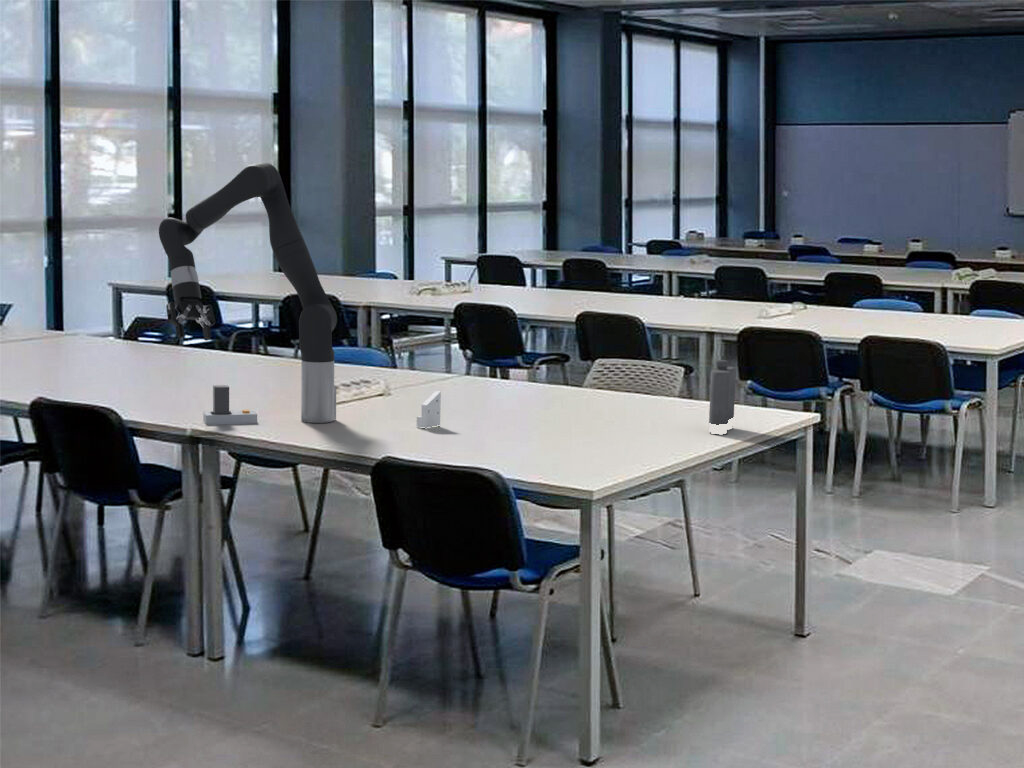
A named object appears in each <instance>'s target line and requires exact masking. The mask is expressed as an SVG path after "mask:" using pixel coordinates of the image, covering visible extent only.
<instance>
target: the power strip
mask: <svg viewBox="0 0 1024 768" xmlns="http://www.w3.org/2000/svg"><path fill="white" fill-rule="evenodd" d="M202 413H203V422H204V424H205V425H207V426H209V425H241V424H242V425H244V424H245V425H247V424H248V425H249V424H258V413H257V412H256V410H254V409H252V410H250V409H241V410H229V414H228V415H213V410H209V411H208V410H207V411H206V410H204V411H202Z"/></svg>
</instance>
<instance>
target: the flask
mask: <svg viewBox="0 0 1024 768" xmlns="http://www.w3.org/2000/svg"><path fill="white" fill-rule="evenodd" d="M736 373H737V369H736V367H733V366H730V364H729V361H728V360H724V359H723V360H722V359H718V360H717V361H715V368H713V369H711V371H710V387H709V388H710V389H709V390H710V391H709V392H710V394H709V412H708V413H709V414H708V416H709V417H708V418H709V419H708V424H709V423H711V424H716V425H719V424H727V423H728V420H729V419H731V418H733V417H735V397H736V396H735V395H736V376H737V374H736Z"/></svg>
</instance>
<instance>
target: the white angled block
mask: <svg viewBox="0 0 1024 768" xmlns="http://www.w3.org/2000/svg"><path fill="white" fill-rule="evenodd" d="M441 394H442V391H440V390H435V391H434V392H433V393H432V394H431V395H430V396H429V397H428V398H426V400H425V401H424V402H423V403H422V404H421V415H418V416H416V427H417V426H418V427H425V428H427V427H432V426H437V425H440V426H441V406H442V405H441V403H442V402H441V401H442V399H441V397H442V395H441Z"/></svg>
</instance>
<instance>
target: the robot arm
mask: <svg viewBox="0 0 1024 768" xmlns="http://www.w3.org/2000/svg"><path fill="white" fill-rule="evenodd" d="M284 186H285V185H284V183H283V180H282V177H281V174H280V172H279V171H278V169H277V167H276V166H274V165H273V164H271V163H270V162H259V163H258V162H257V163H252V164H249V165H247V166H245V167H244V168H243V169H242V170H241V171H240V172H238V174H236V176H234V177H233V178H232V179H231V181H229V182H228V183H226V184H225V185H224V186H223V187H221V188H220V189H219V190H217V191H216V192H214V193H213V194H211V195H210V196H208V197H206V198H205V199H203V200H201V201H199V203H196V204H195V205H193V206H192V207H191V208H189V209H188V210H187V211H186V213H185V220H181V219H178V218H175V217H166V218H164V219H163V220H162V221H161V222H160V224H159V225H158V226H159V227H158V235H159V236H158V237H159V240H160V244H161V245H162V247H163V248H162V249H163V250H164V252H165V255H166V256H167V259H168V264H169V270H170V279H171V286H172V293H173V299H174V301H170V302H169V303H167V304H166V315H167V317H166V318H167V323H168V324H169V325H171V324H172V325H173V326H174V327H175V334H176V337H177V338H178V339H179V340H183V339H185V336H186V334H185V329H184V324H183V322H184V321H185V320H187V321H188V320H191V321H196V323H197V324H200V326H201V327H202V334H203V341H206V342H207V341H209V340H211V338H212V330H211V327H212V326H213V325H216V318H215V315H214V314H215V312H214V308H213V306H212V304H210V303H209V304H208V305H204V304H203V303H202V293H201V286H200V283H199V282H200V280H199V276H198V272H197V270H196V269H197V268H196V262H195V257H194V253H193V252H192V250H190V249H189V248H188V247H186V246H187V245H191V244H192V243H193V242H194V241H196V239H197V238H198V237H199V236H200V235H201V234H202V233H203V232H204V230H205V229H207V228H209V227H210V226H212V225H214V224H215V223H217V222H218V221H219V220H221V219H223V218H224V217H225V216H226V215H227V214H228V213H229V212H230V211H231V210H232V209H234V208H235V207H236V206H238V205H240V204H241V203H244V202H246V201H248V200H251V199H255V198H260V200H261V202H262V203H263V206H264V208H265V211H266V214H267V218H268V228H269V231H268V233H269V243H270V247H271V250H272V252H273V254H274V257H275V260H276V262H277V264H278V266H279V269H280V270H281V271H282V273H283V275H284V276H285V277H286V279H287V280H288V281H289V283H290V284H291V285H292V287H293V288H294V290H295V291H296V294H297V296H298V298H299V300H300V304H301V306H302V310H301V313H300V316H299V320H298V331H299V332H298V333H299V334H298V337H299V338H298V339H299V340H298V341H299V345H298V346H299V351H300V356H301V363H300V364H301V366H300V367H301V372H300V373H301V375H300V377H301V382H300V383H301V389H300V391H301V393H300V394H301V397H300V398H301V402H300V403H301V404H300V405H301V406H300V411H301V412H300V413H301V414H300V416H301V417H300V420H301V422H304V423H310V424H323V423H324V424H325V423H331V422H334V421H335V420H337V387H336V386H335V350H334V349H333V344H332V343H333V341H332V339H333V337H332V335H333V334H332V332H333V331H334V330H335V328H336V327H337V322H338V318H337V317H338V316H337V313H336V310H335V308H334V306H333V304H332V302H331V301H330V299H329V297H328V295H327V294H326V292H325V290H324V287H323V286H322V284H321V281H320V278H319V276H318V273H317V270H316V267H315V265H314V262H313V259H312V257H311V254H310V252H309V249H308V247H307V244H306V241H305V239H304V237H303V235H302V232H301V230H300V228H299V226H298V223H297V220H296V219H295V216H294V213H293V211H292V208H291V206H290V202H289V199H288V197H287V192H286V189H285V187H284ZM176 311H177V312H178V314H177V313H176Z"/></svg>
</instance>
